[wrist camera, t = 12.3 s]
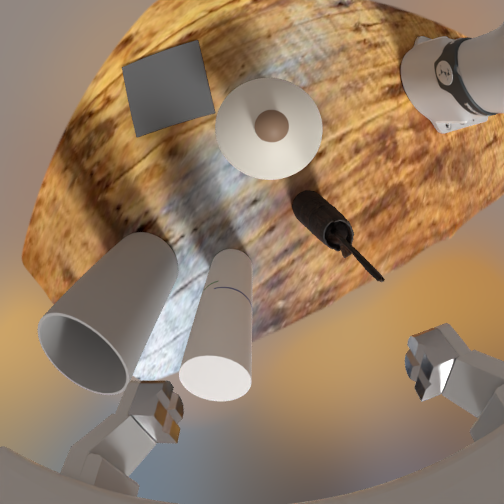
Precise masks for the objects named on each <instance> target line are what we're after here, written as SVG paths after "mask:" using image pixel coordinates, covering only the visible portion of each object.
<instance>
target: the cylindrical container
mask: <svg viewBox="0 0 504 504" xmlns="http://www.w3.org/2000/svg"><path fill="white" fill-rule="evenodd" d="M252 281H253V266H252V262H251V260H250V258H249V257H248V256H247V255H246V254H245V253H243V252H242V251H239V250H236V249H226V250H223V251H221V252H219V253H218V254H217V255H216V256H215V257H214V259H213V261H212V264H211V267H210V270H209V273H208V276H207V279H206V283H205V286H204V289H203V292H202V296H201V299H200V302H199V305H198V309H197V312H196V315H195V319H194V322H193V325H192V329H191V332H190V336H189V339H188V342H187V346H186V349H185V353H184V356H183V360H182V364H181V367H180V371H179V378H180V381H181V383H182V384H183V386H184V387H185V388H186V389H187V390H188V391H189V392H191V393H192V394H194V395H196V396H198V397H201V398H203V399H207V400H211V401H229V400H234V399H237V398H239V397H241V396H243V395H244V394H245V393H246V392H247V391H248V390H249V389H250V386H251V360H252V359H251V357H252V355H251V354H252Z"/></svg>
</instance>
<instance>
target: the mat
mask: <svg viewBox="0 0 504 504" xmlns="http://www.w3.org/2000/svg"><path fill="white" fill-rule="evenodd" d="M122 70H123V76H124V81H125V86H126V91H127V96H128V101H129V106H130V111H131V115H132V120H133V124H134V128H135V133H136V137H140V136H143V135H146V134H148V133H151V132H154V131H157V130H160V129H163V128H166V127H169V126H172V125H175V124H179V123H182V122H185V121H188V120H192V119H195V118H199V117H203V116H206V115H210V114H214V113H215V109H214V105H213V101H212V97H211V92H210V88H209V84H208V80H207V76H206V71H205V67H204V63H203V59H202V54H201V50H200V46H199V42H198V40H196V41H193V42H189V43H186V44H183V45H179V46H176V47H173V48H170V49H167V50H165V51H162V52H159V53H156V54H154V55H151V56H148V57H146V58H143V59H141V60H138V61H136V62H134V63H131V64H129V65H127V66H124V67H122Z"/></svg>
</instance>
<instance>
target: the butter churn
mask: <svg viewBox="0 0 504 504" xmlns="http://www.w3.org/2000/svg"><path fill="white" fill-rule="evenodd" d="M292 209H293V212H294V214H295V216H296V218H297V219H298V220H299V221H300V222H301V223H302V224H303V225H304V226H305V227H307V228H308V230H310V231H311V232H312V233H313V234H314V235H315V236H316V237H317V238H318V239H319V240H320V241H322V242H323V243H324V244H325V245H326V246H328V247H329V248H331V249H335V250H336V251H340V250H341V251H342V255H343V257H344V258H346V257H348V256H349V255H351V254H353V255H354V256H355V257H356V259H357V260H358V261H359V262H360V263H361V264H362V266H363V267H364V268H365V269H366V270H367V271H368V272H369V273H370V274H371V275H372V276H373V277H374V278H375V279H376V280H377V281H380V282H383V281H384V278H383V277H382V275H381V274H380V273H379V272H378V271H377V270H376V269H375V268H374V267H373V266H372V265H371V264H370V263H369V262H368V261H367V260H366V259H365V258H364V257H363V256H362V255H361V254H360V253H359V252H358V251H357V250H356V249H355V248H354V247H353V246H352V241H353V236H354V232H353V230H352V227H351V225H350V223H349V221H347V219H345V217H344V216H343V215H342V214H341V213H340V212H339V211H338V210H337V209H336V208H335V207H334V206H332V205H331V204H329V203H328V202H327V201H326V200H325V199H324V198H323V197H321V196H320V195H319V194H318V193H316V192H314V191H304V192H302V193H300V194H299V195H298V196H297V197H296V198H295V200H294V202H293V205H292Z"/></svg>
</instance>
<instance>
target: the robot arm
mask: <svg viewBox="0 0 504 504" xmlns="http://www.w3.org/2000/svg"><path fill="white" fill-rule="evenodd" d="M401 78H402V83H403V86H404V89H405V92H406V94H407V96H408V98H409V99H410V101H411V102H412V104H413V105H414V106H415V108H416V109H417V110H418V111H419V112H420V113H422V114H423V115H424V116H425V117H427V118H428V119H429V120H430V121H431V122H432V124H433V125H434V127H435V128H436V130H437V131H438V132H439V133H441V134H442V133H448V132H451V131H454V130H458V129H461V128H465V127H468V126H471V125H475V124H479V123H482V122H485V121H487V119H488V116H491V115H496V114H498V113H504V22H503V24H502V25H501V26H500V27H499V28H497V29H495V30H494V31H491V32H489V33H487V34H484V35H481V36H478V37H476V38H459V39H455V40H454V39H450V38H448V37H447V36H442V37H438V38H435V39H430V38H427V37H424V36H419V37H417V38H416V41H415V44H414V47H413V48H412V49H411V50H409V51H408V52H407V53H406V54H405V56H404V58H403V60H402V64H401ZM446 125H447V127H446ZM408 346H409V348H410V349H409V351H408V352H407V353H406V356H405V368H406V371H407V374H408V376H409V378H410V379H411V380H413V381H415V382H416V384H415V390H416V392H417V394H418V396H419V397H420V400H421V401H425V400H427V399H430V398H432V397H435V396H437V395H440V394H442V395H443V396H445V397H446V398H448V399H449V400H451V401H452V402H454V403H455V404H457V405H458V406H460V407H462V408H463V409H465V410H466V411H468V412H469V413H471V414H473V415H474V416H476V417H477V418H478V419H477V421H476V422H475V423H474V425H473V426H472V428H471V430H470V433H471V436H472V438H473V440H474V443H472V444H471V445H469V446H467V447H466V448H464V449H462V450H460V451H458V452H456V453H455V454H453V455H451V456H449V457H447V458H445V459H443V460H441V461H439V462H436V463H434V464H432V465H430V466H428V467H425V468H423V469H421V470H418V471H416V472H414V473H411V474H409V475H406V476H403V477H401V478H398V479H395V480H392V481H390V482H387V483H384V484H380V485H377V486H374V487H371V488H367V489H364V490H360V491H357V492H352V493H348V494H344V495H340V496H335V497H331V498H325V499H320V500H314V501H308V502H301V503H294V504H504V361H501V360H499V359H496V358H494V357H491V356H489V355H486V354H483V353H481V352H479V351H476V350H473V351H471V350H470V349H469V348H468V347H467V345H466V344H465V343H464V341H463V340H462V339H461V338H460V336H459V335H458V334H457V333H456V332H455V330H454V329H453V328H452V327H451V326H450V325H449V324H448V323H445V324H442V325H440V326H437V327H435V328H431V329H429V330H426V331H423V332H421V333H418V334H415V335H412V336H410V338H409V340H408ZM173 388H174V387H173V385H172V384H171V382H170V381H130V382H129V383H128V384H127V387H126V389H125V391H124V394H123V396H122V399H121V401H120V404H119V406H118V408H117V411H116V413H115V414H111V415H110V416H109V417H108V418H106V419H105V420H104V421H103V422H101V423H100V424H99V425H98V426H97V427H95V428H94V429H93V430H91V431H90V432H89V433H88V434H86V435H85V436H84V437H83V438H82V439H80V440H79V441H78V442H76V443H75V444H74V445H73V446H71V448H70V450H69V453H68V455H67V458H66V460H65V462H64V465H63V467H62V470H61V473H58V472H56V471H53V470H51V469H49V468H46V467H44V466H42V465H40V464H38V463H36V462H34V461H32V460H30V459H28V458H26V457H24V456H22V455H20V454H18V453H16V452H15V451H13V450H11V449H9V448H7V447H0V504H176V503H169V502H162V501H155V500H150V499H145V498H140V497H137V494H138V490H139V485H138V484H137V483H136V482H135V481H133V480H132V479H131V478H129V477H128V476H129V475H130V474H131V473H132V472H133V471H134V469H135V468H136V467H137V466H138V465H139V464H140V463H141V462H142V460H143V459H144V458H145V457H146V456H147V455H148V453H149V452H150V451H151V450H152V449H153V447H154V446H155V445H156V443H178V438H179V433H180V427H179V425H178V422H180V421H181V420H182V419H183V414H184V409H183V403H182V400H181V398H180V396H179V395H178V394H176V393H175V392H173Z"/></svg>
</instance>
